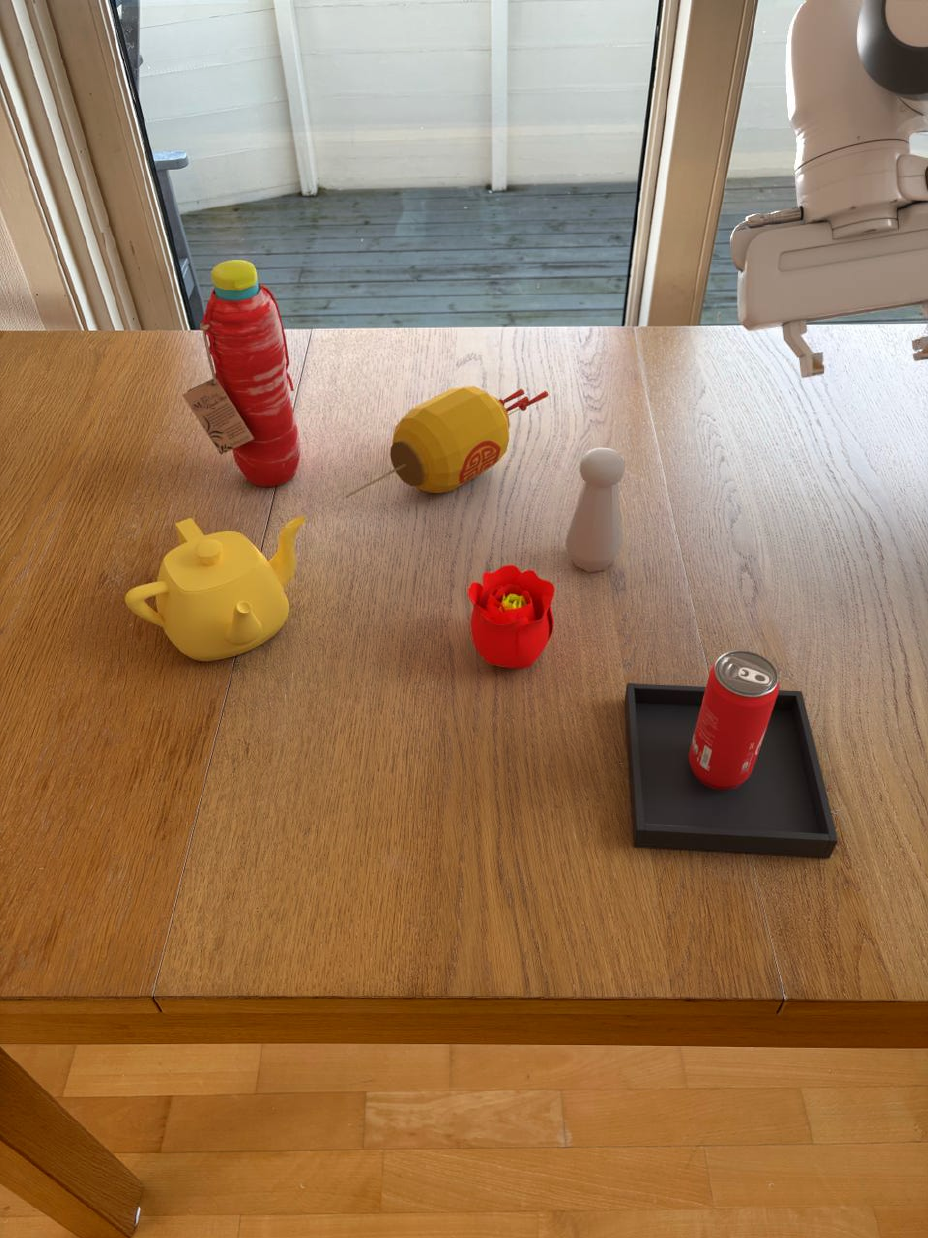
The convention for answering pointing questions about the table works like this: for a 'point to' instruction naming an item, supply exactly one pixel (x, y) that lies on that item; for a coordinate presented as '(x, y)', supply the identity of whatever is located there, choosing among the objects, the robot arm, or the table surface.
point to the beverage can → (733, 719)
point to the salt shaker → (597, 511)
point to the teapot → (219, 592)
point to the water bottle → (247, 378)
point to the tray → (734, 819)
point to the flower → (511, 616)
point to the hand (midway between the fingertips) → (869, 367)
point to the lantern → (452, 438)
